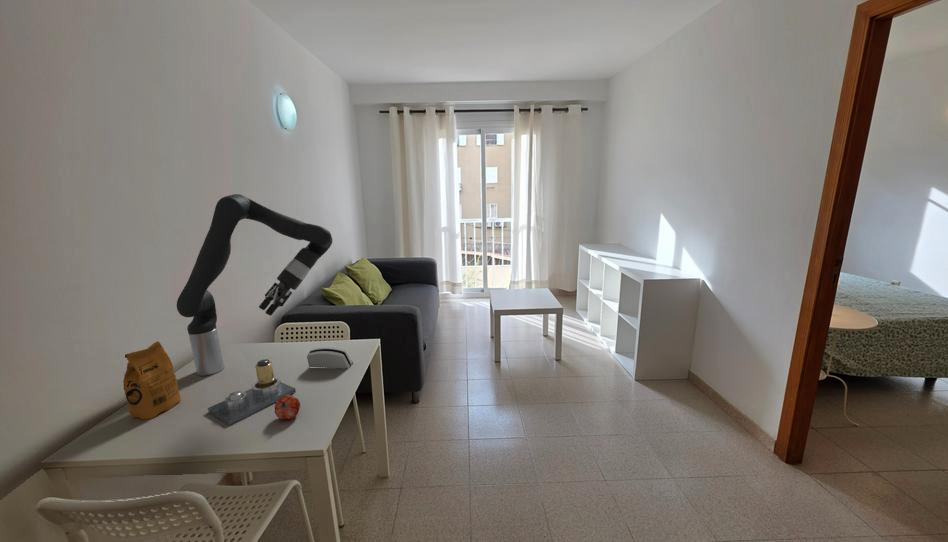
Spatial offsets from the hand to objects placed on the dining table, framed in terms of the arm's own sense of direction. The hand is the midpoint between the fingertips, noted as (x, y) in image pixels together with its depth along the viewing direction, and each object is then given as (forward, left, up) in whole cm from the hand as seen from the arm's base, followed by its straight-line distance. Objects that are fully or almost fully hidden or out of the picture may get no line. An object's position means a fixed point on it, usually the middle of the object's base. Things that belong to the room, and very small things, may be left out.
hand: (264, 311), depth 136 cm
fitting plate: (+4, -11, -28) cm, 31 cm away
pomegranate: (+23, -10, -28) cm, 38 cm away
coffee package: (-21, -30, -28) cm, 46 cm away
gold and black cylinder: (+4, -6, -27) cm, 28 cm away
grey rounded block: (+6, +19, -29) cm, 35 cm away
